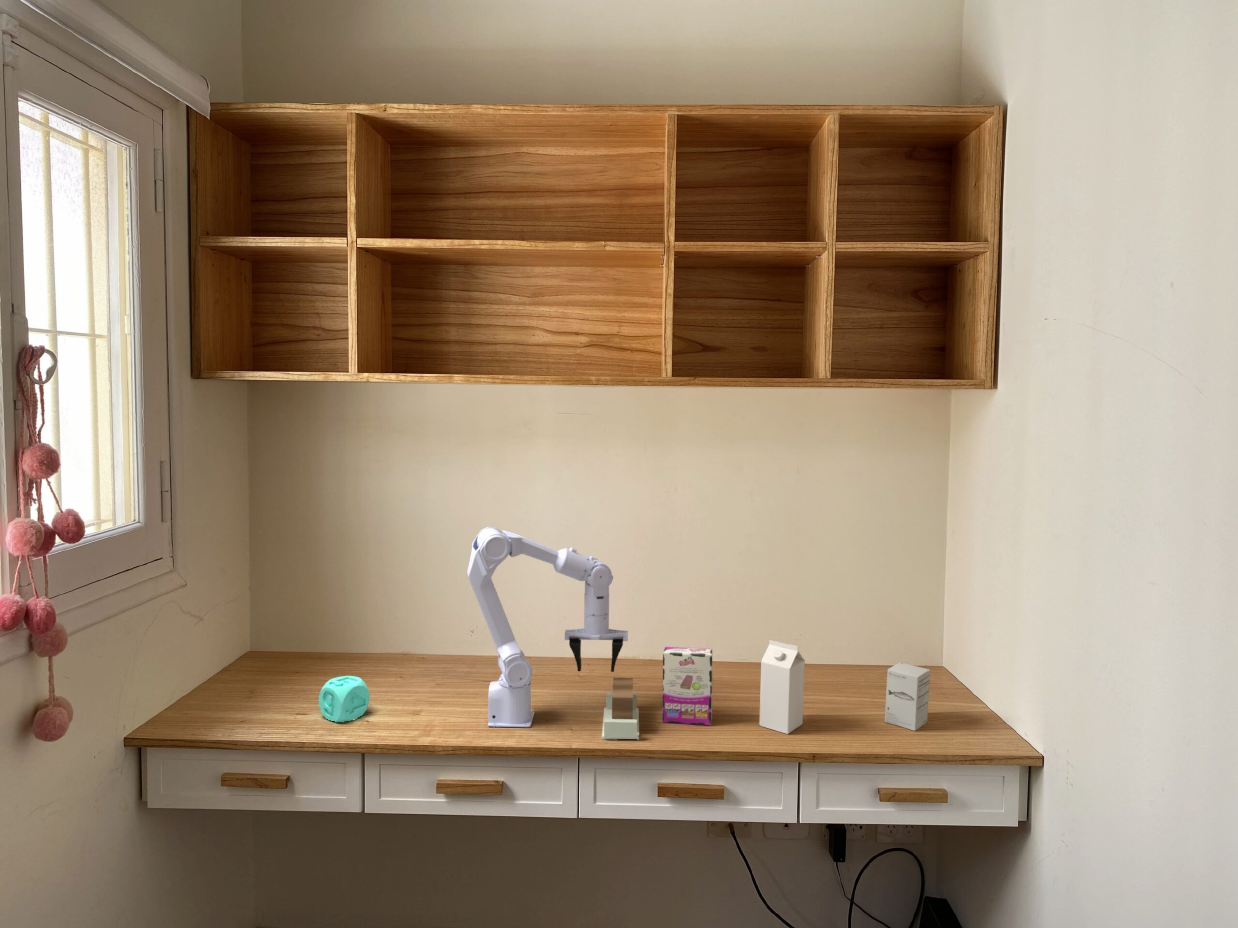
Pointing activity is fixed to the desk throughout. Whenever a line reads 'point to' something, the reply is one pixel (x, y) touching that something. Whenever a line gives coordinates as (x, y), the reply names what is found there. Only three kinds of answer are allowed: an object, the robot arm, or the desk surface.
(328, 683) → the decorative dice
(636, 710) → the peg frame
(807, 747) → the desk surface
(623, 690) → the brown rectangular block
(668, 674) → the candy bar box
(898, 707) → the supplement box
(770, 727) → the milk carton
